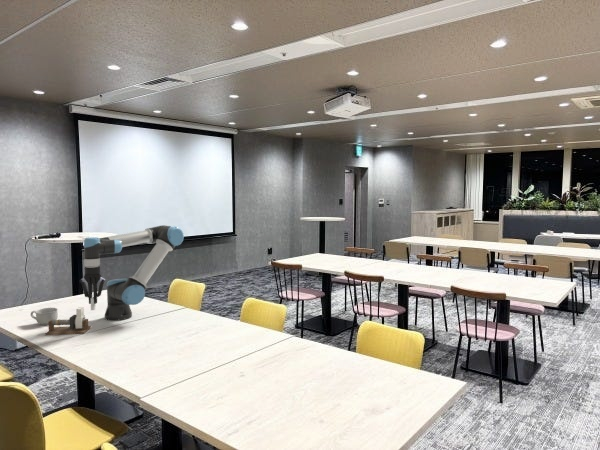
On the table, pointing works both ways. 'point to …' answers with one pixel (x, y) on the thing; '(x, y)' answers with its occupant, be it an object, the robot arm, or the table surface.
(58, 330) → the pipe rig
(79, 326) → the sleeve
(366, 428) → the table surface
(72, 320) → the charcoal slab
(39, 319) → the teacup
